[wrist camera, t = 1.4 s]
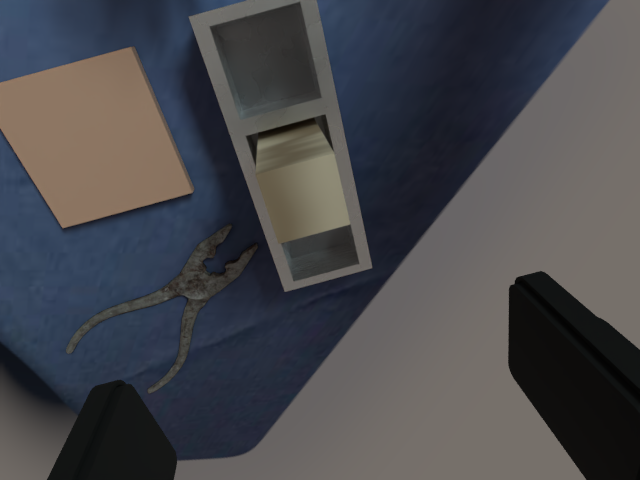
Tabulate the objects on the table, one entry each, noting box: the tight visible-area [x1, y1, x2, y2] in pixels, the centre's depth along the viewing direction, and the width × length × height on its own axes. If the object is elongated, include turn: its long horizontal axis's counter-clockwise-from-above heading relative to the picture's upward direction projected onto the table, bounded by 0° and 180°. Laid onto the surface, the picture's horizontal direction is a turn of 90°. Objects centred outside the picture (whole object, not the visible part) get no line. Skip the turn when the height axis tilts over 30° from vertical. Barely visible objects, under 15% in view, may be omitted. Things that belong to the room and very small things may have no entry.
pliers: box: [66, 223, 258, 394], centre depth 34 cm, size 10×1×20 cm
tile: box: [0, 47, 194, 228], centre depth 27 cm, size 10×10×1 cm
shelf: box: [189, 0, 372, 292], centre depth 28 cm, size 7×19×4 cm, turn 14°
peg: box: [255, 117, 350, 244], centre depth 25 cm, size 4×4×10 cm
